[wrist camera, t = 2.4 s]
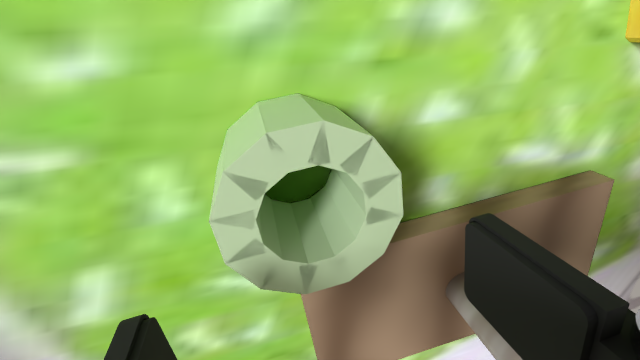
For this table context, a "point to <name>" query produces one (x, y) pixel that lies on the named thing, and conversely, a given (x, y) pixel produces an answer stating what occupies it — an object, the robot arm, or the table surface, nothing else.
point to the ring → (307, 215)
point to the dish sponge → (633, 22)
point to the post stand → (449, 274)
